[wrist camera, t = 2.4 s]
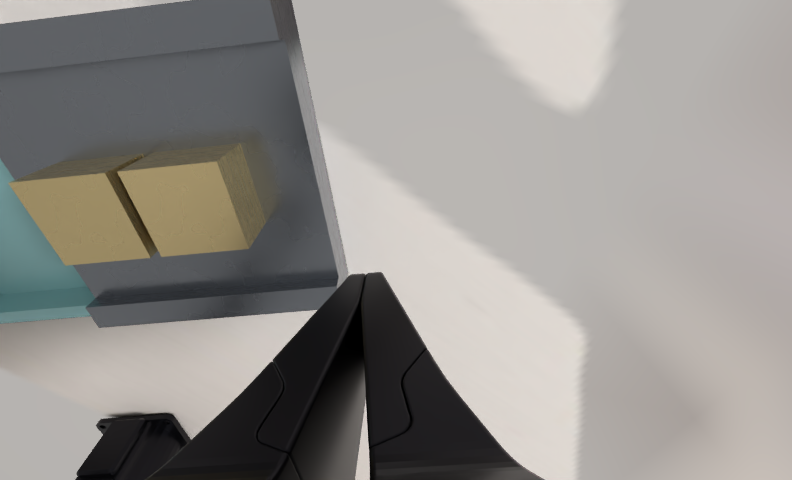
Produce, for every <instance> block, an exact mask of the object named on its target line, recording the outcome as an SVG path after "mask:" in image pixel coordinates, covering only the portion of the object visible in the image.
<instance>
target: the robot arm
mask: <svg viewBox="0 0 792 480" xmlns="http://www.w3.org/2000/svg"><path fill="white" fill-rule="evenodd" d="M365 399H366V407H367V424H368V441H369V450H370V451H369V458H370V480H544V479H542V478H541V477H539V476H537V475H536V474H534V473H532V472H531V471H529V470H527V469H526V468H524V467H523V466H522V465H520V464H519V463H518V462H517V461H515V460H514V459H513V458H512V457H511V456H510V455H509V454H508V453H507V452H506V451H505V450H504V449H503V448H502V446H501V445H500V444H499V443H498V442H497V441H496V439H495V438H494V437H493V436H492V435H491V433H490V432H489V431H488V430H487V429H486V427H485V426H484V425H483V424H482V422H481V421H480V420H479V419H478V418H477V416H476V415H475V414H474V413H473V412H472V410H471V409H470V408H469V407H468V405H467V404H466V403H465V402H464V401H463V399H462V398H461V397H460V396H459V394H458V393H457V392H456V390H455V389H454V388H453V387H452V385H451V384H450V383H449V381H448V380H447V379H446V377H445V376H444V374H443V373H442V371H441V370H440V368H439V367H438V365H437V364H436V362H435V360H434V359H433V357H432V355H431V354H430V352H429V351H428V350H427V347H426V346H425V344H424V342H423V341H422V339H421V337H420V335H419V334H418V332H417V330H416V329H415V327H414V325H413V324H412V322H411V320H410V319H409V317H408V315H407V314H406V312H405V310H404V309H403V307H402V305H401V304H400V302H399V300H398V298H397V297H396V295H395V293H394V292H393V290H392V288H391V287H390V285H389V283H388V282H387V280H386V278H385V277H384V275H383V273H381V272H375V273H368V274H366V275H365V274H352V275H350V276H348V277H347V279H346V280H345V281H344V282H343V283H342V284H341V285H340V286H339V287H338V288H337V290H336V291H335V292H334V293H333V294H332V295H331V296H330V297H329V298H328V299H327V301H326V302H325V303H324V304H323V305H322V306H321V307H320V308H319V309H318V311H317V312H316V313H315V314H314V315H313V316H312V317H311V318H310V319H309V320H308V322H307V323H306V324H305V325H304V326H303V327H302V328H301V329H300V330H299V331H298V333H297V334H296V335H295V336H294V337H293V338H292V339H291V340H290V341H289V342H288V344H287V345H286V346H285V347H284V348H283V349H282V350H281V351H280V352H279V353H278V355H277V356H276V357H275V358H274V359H273V362H270V363H269V364H268V365H267V367H266V368H265V369H264V370H263V371H262V372H261V373H260V374H259V375H258V376H257V377H256V378H255V379H254V380H253V382H252V383H251V384H250V385H249V386H248V387H247V388H246V389H245V390H244V391H243V392H242V393H241V394H240V395H239V396H238V397H237V398H236V399H235V400H234V401H233V402H232V403H231V404H229V405H228V406H227V407H226V408H225V409H224V410H223V411H222V412H221V413H220V414H219V415H218V416H217V417H216V418H215V419H214V420H212V421H211V422H210V423H209V424H208V425H207V426H206V427H205V428H204V429H203V430H202V431H201V432H199V433H198V434H197V435H196V436H195V437H194V438H193V439H192V440H190V439H189V437H188V436H187V434H186V433H185V431H184V430H183V428H182V427H181V425H180V424H179V422H178V421H177V420H176V418H175V417H174V416H172V415H169V414H165V415H150V416H136V417H122V418H108V419H101V420H100V421H99V422H98V423H97V425H96V426H97V428H98V429H99V430H100V431H101V432H102V434H103V436H102V437H101V439H100V440H99V442H98V443H97V445H96V446H95V447H94V449H93V450H92V452H91V453H90V454H89V456H88V458H87V459H86V460H85V461H84V463H83V464H82V466H81V467H80V469H79V470H78V471H77V476H78V477H77V478H76V480H355V474H356V467H357V459H358V452H359V444H360V436H361V429H362V421H363V414H364V406H365Z"/></svg>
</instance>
